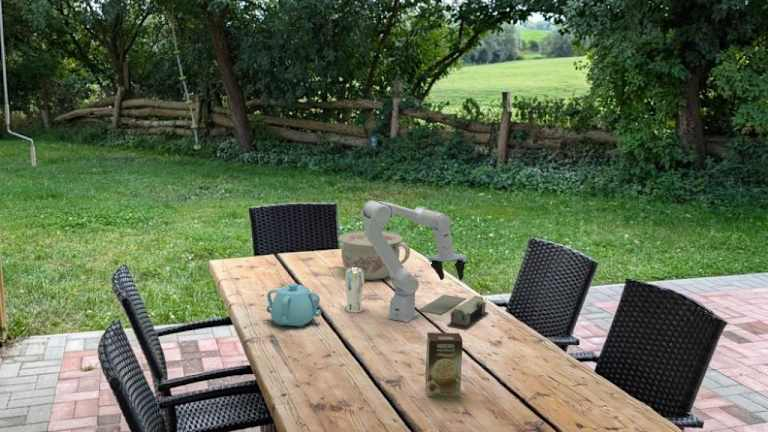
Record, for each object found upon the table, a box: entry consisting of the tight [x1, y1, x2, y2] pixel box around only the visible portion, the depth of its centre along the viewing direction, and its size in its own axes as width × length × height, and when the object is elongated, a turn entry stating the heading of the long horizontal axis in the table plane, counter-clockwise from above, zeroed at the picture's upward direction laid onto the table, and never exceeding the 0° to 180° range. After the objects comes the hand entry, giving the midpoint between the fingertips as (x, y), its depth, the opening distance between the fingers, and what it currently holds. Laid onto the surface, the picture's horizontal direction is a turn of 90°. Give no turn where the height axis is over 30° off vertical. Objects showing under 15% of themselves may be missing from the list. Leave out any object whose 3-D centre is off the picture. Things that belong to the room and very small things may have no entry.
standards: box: [446, 301, 489, 331], centre depth 265 cm, size 20×7×5 cm, turn 150°
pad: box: [418, 294, 467, 316], centre depth 282 cm, size 22×9×1 cm, turn 150°
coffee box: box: [424, 332, 464, 398], centre depth 205 cm, size 9×6×16 cm
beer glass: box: [344, 268, 365, 313], centre depth 274 cm, size 7×7×15 cm
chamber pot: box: [337, 229, 411, 281], centre depth 318 cm, size 28×28×21 cm
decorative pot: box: [265, 283, 322, 328], centre depth 261 cm, size 16×16×14 cm
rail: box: [453, 295, 484, 320], centre depth 265 cm, size 18×3×3 cm, turn 150°
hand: (451, 279), depth 275 cm, fingers open, 7 cm apart
